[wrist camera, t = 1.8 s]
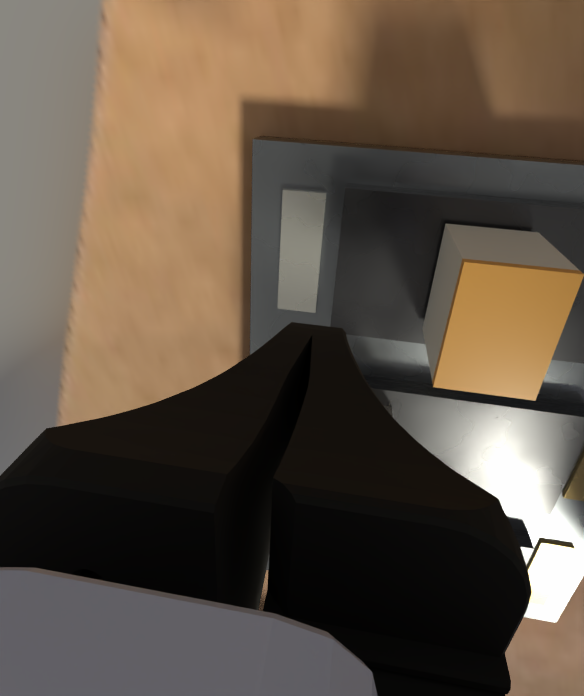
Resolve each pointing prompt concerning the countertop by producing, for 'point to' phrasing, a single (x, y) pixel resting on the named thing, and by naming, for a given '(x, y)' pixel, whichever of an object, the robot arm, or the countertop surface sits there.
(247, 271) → the countertop surface
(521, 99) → the countertop surface
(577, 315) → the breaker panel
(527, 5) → the countertop surface
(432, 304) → the block
